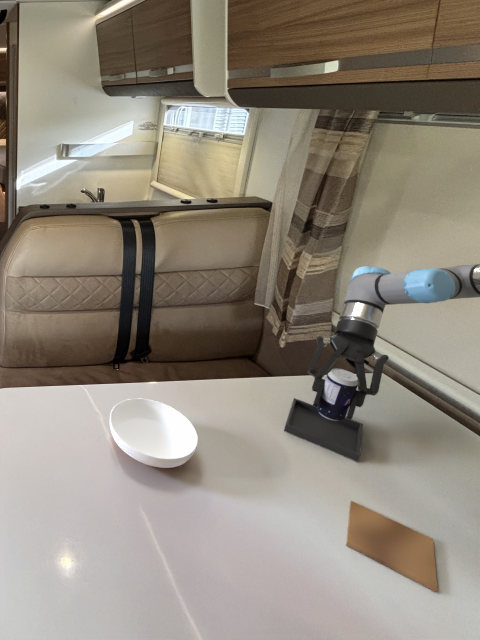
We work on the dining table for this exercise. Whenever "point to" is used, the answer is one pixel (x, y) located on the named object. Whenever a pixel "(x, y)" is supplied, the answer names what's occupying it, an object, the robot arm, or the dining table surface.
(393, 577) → the dining table surface
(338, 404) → the beverage can
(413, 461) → the dining table surface
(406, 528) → the trivet
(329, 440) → the tray
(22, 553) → the dining table surface
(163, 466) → the bowl
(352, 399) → the robot arm
